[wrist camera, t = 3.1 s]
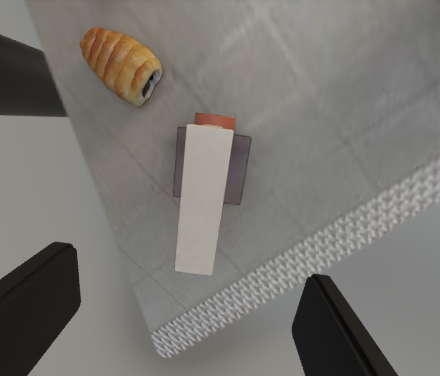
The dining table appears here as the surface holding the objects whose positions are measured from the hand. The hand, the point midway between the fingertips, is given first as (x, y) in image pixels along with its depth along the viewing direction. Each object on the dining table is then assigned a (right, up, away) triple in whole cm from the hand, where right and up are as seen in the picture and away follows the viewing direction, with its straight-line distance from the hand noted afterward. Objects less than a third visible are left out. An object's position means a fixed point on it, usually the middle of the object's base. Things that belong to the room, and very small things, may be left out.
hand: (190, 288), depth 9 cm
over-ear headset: (0, +6, +18) cm, 19 cm away
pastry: (-11, +19, +19) cm, 29 cm away
